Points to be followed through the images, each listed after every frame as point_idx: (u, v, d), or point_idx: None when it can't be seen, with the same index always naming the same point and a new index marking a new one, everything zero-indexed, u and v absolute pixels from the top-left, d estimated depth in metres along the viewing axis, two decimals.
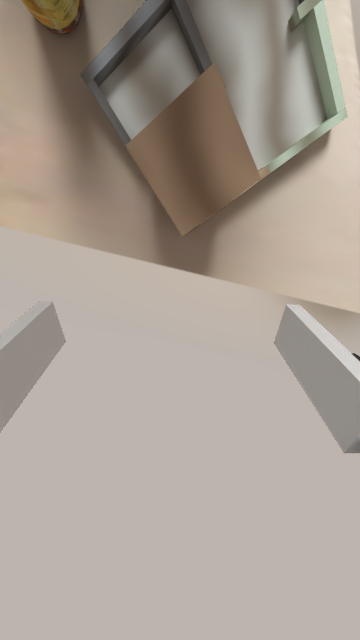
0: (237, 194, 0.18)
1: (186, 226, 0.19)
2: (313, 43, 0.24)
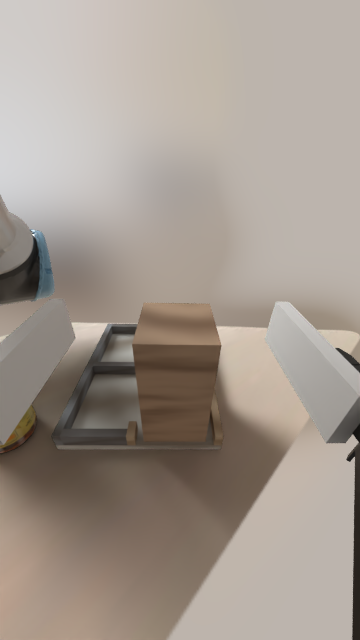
0: (211, 312, 0.24)
1: (214, 339, 0.20)
2: None
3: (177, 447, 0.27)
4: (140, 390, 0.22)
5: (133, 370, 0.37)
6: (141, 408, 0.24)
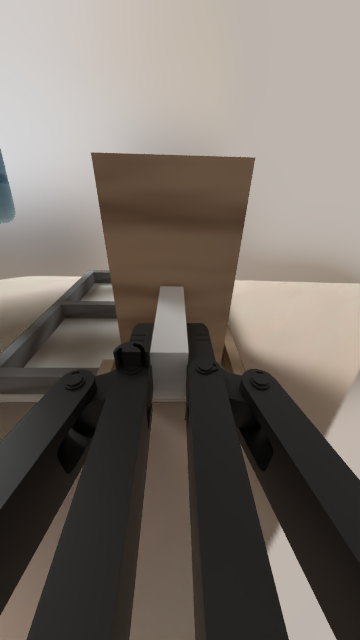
0: None
1: None
2: None
3: None
4: (115, 275, 0.13)
5: None
6: (119, 315, 0.15)
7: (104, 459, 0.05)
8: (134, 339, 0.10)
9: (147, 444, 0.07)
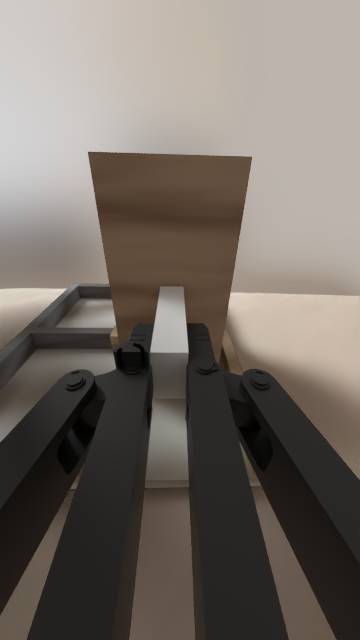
0: None
1: None
2: None
3: (172, 484, 0.13)
4: (112, 274, 0.13)
5: (100, 341, 0.22)
6: (117, 315, 0.15)
7: (104, 459, 0.05)
8: (134, 339, 0.10)
9: (147, 444, 0.07)
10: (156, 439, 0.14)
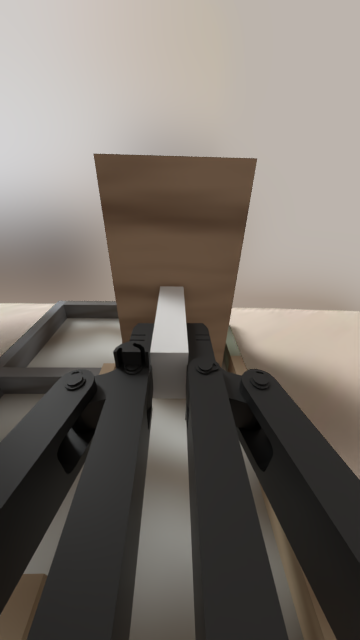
0: None
1: None
2: None
3: None
4: (116, 275, 0.14)
5: None
6: (121, 316, 0.15)
7: (104, 459, 0.05)
8: (134, 339, 0.10)
9: (147, 444, 0.07)
10: (156, 567, 0.10)
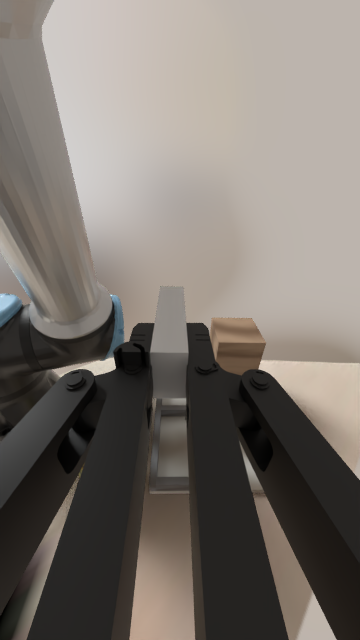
0: (254, 324, 0.41)
1: (261, 340, 0.36)
2: None
3: (252, 491, 0.32)
4: None
5: None
6: None
7: (104, 459, 0.05)
8: (134, 339, 0.10)
9: (147, 444, 0.07)
10: None
